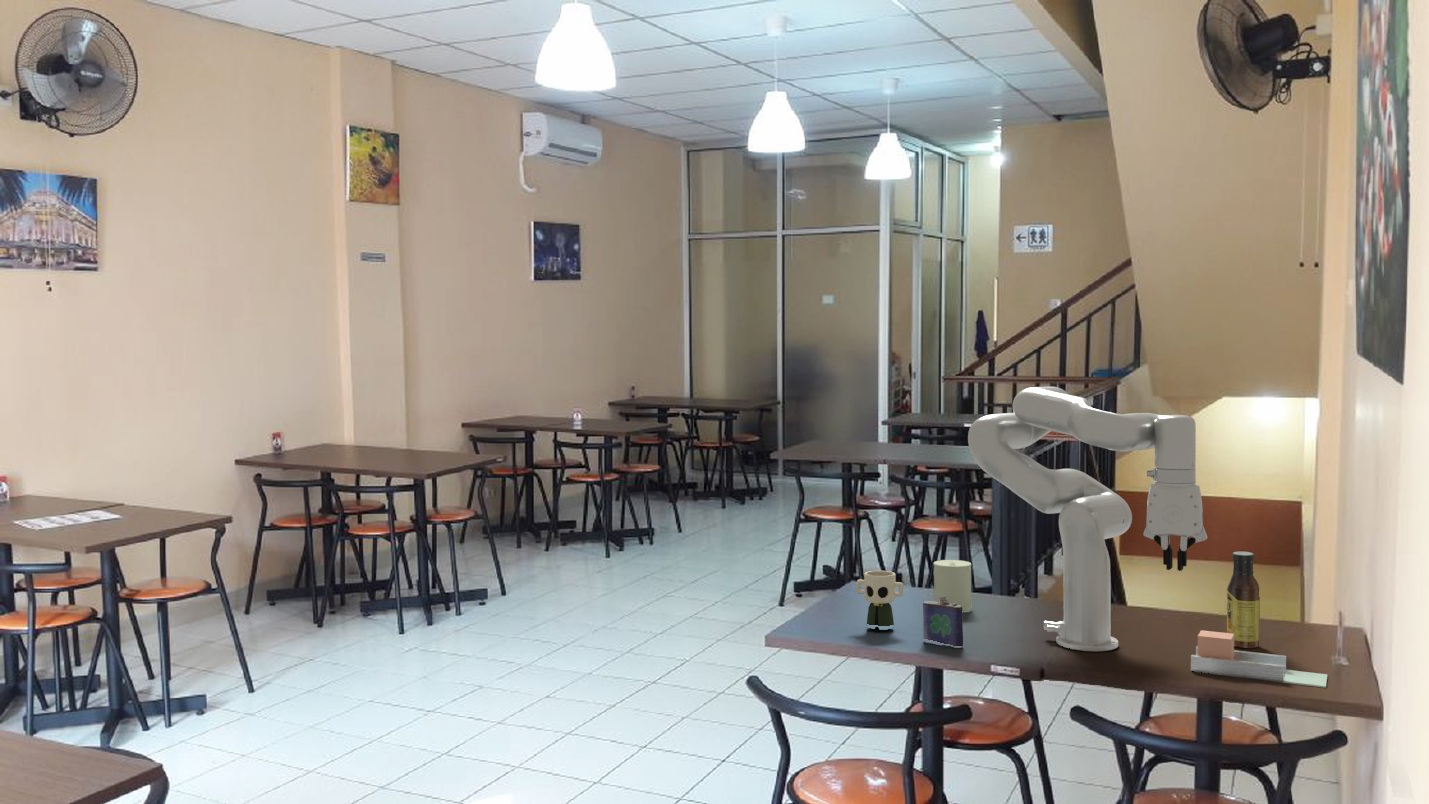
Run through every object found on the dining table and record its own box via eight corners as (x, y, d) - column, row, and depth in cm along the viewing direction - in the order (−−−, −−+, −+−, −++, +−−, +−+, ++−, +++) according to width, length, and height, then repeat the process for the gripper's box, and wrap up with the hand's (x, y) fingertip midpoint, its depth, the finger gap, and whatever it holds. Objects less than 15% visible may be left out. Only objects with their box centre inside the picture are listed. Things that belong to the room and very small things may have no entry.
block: (1197, 666, 214) (1197, 635, 214) (1201, 660, 219) (1201, 630, 219) (1231, 670, 211) (1231, 639, 211) (1234, 663, 216) (1234, 633, 215)
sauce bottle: (1231, 640, 236) (1231, 548, 235) (1263, 644, 232) (1263, 551, 231) (1223, 646, 231) (1223, 553, 230) (1255, 651, 227) (1255, 556, 226)
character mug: (852, 631, 249) (852, 574, 249) (862, 624, 256) (861, 568, 255) (899, 635, 245) (898, 577, 244) (907, 628, 251) (907, 572, 251)
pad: (1283, 682, 205) (1283, 681, 205) (1286, 671, 213) (1286, 669, 213) (1325, 687, 202) (1325, 686, 202) (1327, 675, 209) (1327, 674, 209)
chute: (1190, 671, 213) (1190, 656, 213) (1196, 660, 221) (1196, 645, 221) (1283, 682, 205) (1283, 666, 205) (1286, 671, 213) (1286, 655, 213)
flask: (921, 642, 238) (920, 593, 238) (927, 640, 240) (927, 591, 240) (959, 649, 232) (959, 599, 232) (966, 646, 234) (966, 597, 234)
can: (934, 613, 265) (933, 564, 265) (933, 605, 274) (932, 557, 274) (973, 614, 264) (972, 564, 263) (970, 605, 273) (970, 558, 273)
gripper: (1130, 477, 218) (1130, 569, 219) (1215, 480, 210) (1215, 576, 211) (1136, 473, 225) (1137, 563, 226) (1220, 477, 217) (1220, 569, 218)
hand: (1174, 568), depth 218 cm, fingers closed
